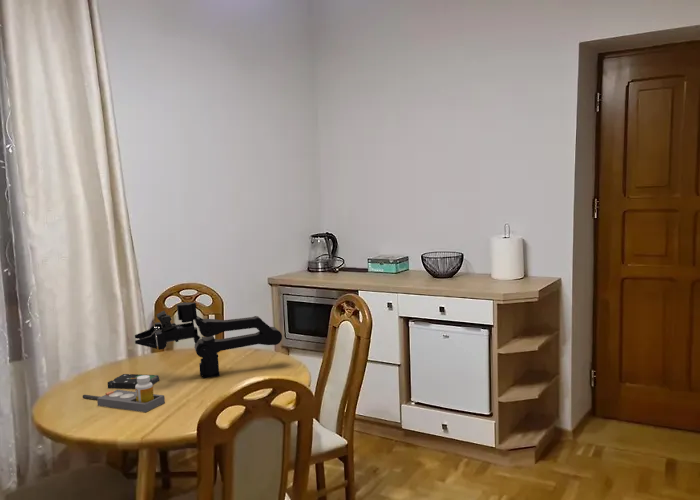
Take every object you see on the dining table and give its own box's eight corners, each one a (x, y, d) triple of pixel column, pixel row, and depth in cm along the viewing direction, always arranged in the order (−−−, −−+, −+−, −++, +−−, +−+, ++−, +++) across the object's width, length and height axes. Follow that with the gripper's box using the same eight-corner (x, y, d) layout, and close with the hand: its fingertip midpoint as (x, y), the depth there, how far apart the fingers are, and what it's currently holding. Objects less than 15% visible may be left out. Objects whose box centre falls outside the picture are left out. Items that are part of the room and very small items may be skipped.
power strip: (164, 402, 207) (164, 393, 207) (145, 412, 199) (144, 402, 198) (93, 393, 220) (92, 384, 219) (72, 402, 212) (71, 393, 211)
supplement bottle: (157, 404, 206) (155, 374, 205) (147, 409, 201) (145, 379, 200) (143, 402, 208) (141, 373, 207) (133, 408, 203) (130, 378, 202)
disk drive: (107, 390, 225) (145, 390, 222) (106, 382, 225) (144, 383, 222) (123, 381, 235) (160, 381, 232) (122, 373, 235) (159, 374, 232)
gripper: (175, 306, 239) (131, 312, 234) (179, 315, 221) (132, 322, 216) (179, 335, 240) (135, 342, 235) (183, 346, 222) (136, 354, 217)
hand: (135, 339), depth 226 cm, fingers open, 9 cm apart
